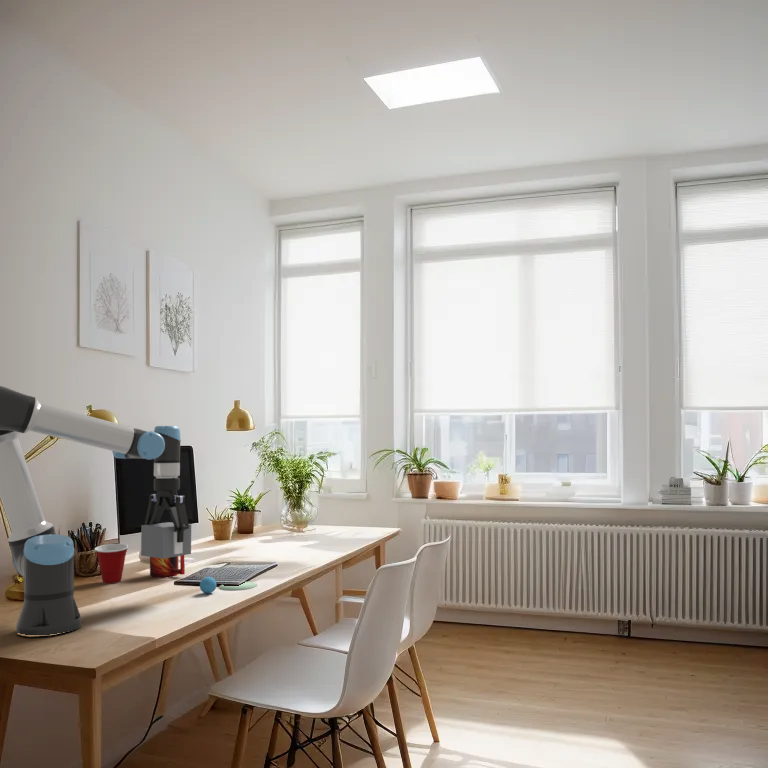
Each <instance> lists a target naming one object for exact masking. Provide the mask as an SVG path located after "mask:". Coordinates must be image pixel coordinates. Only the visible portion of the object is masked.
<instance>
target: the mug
mask: <svg viewBox="0 0 768 768" xmlns="http://www.w3.org/2000/svg"><path fill="white" fill-rule="evenodd" d="M179 557H180V558H179ZM179 560H180V561H179ZM179 562H180V565H179ZM179 566H180V567H179ZM185 566H186V565H185V555H182V556H176V557H169V558H155V557H149V577H150V578H154V579H167V578H166V577H168V578H172V577H173V576H174V577H177V576H178V575H185V571H186V569H185Z"/></svg>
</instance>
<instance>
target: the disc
mask: <svg viewBox="0 0 768 768" xmlns="http://www.w3.org/2000/svg"><path fill="white" fill-rule="evenodd" d="M244 582H245V583H243V584H241V585H239V586H224V585H223V584H221V585H219V586H218V589H220V590H223V591H243V590H249V589H254V588H257V586H258V583H256V582H252V581H244Z"/></svg>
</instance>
